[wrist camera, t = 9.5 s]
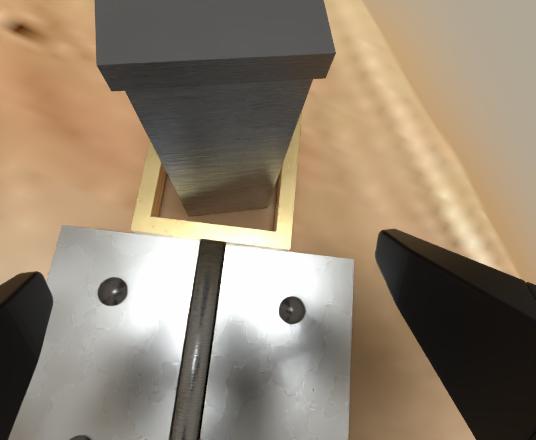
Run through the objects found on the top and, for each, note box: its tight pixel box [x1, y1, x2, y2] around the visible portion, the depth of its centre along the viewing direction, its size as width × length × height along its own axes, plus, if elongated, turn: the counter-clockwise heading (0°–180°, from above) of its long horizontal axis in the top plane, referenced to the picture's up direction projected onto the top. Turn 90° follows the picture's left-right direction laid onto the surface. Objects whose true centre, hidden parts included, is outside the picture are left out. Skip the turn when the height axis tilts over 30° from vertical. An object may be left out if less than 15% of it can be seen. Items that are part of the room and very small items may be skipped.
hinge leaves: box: [8, 112, 354, 440], centre depth 16 cm, size 21×15×2 cm
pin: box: [95, 0, 336, 217], centre depth 13 cm, size 5×5×12 cm
